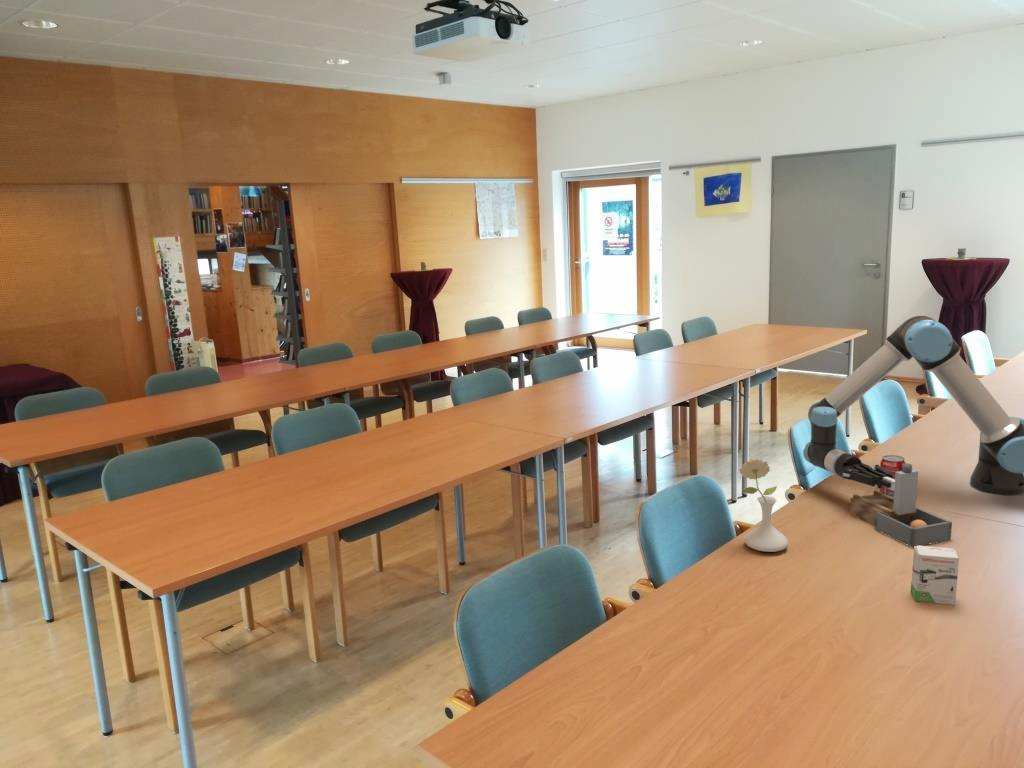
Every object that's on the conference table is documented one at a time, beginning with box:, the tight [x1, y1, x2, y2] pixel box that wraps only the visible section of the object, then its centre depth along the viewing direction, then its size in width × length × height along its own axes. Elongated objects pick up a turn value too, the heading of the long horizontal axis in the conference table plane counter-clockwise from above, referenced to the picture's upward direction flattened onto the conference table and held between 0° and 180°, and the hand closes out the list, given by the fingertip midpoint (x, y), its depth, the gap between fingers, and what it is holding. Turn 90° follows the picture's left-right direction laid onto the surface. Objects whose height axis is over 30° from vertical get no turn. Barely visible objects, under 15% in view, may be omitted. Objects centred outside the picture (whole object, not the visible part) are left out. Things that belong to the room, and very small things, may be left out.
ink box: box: [910, 545, 960, 606], centre depth 175 cm, size 9×5×12 cm, turn 72°
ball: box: [910, 520, 927, 528], centre depth 208 cm, size 4×4×4 cm
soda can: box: [878, 454, 906, 498], centre depth 237 cm, size 7×7×13 cm
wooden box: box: [849, 490, 918, 527], centre depth 220 cm, size 15×10×6 cm, turn 16°
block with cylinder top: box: [893, 462, 919, 515], centre depth 211 cm, size 2×6×14 cm, turn 106°
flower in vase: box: [738, 458, 789, 553], centre depth 205 cm, size 13×11×25 cm
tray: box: [874, 506, 953, 548], centre depth 210 cm, size 14×13×5 cm
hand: (902, 488), depth 212 cm, fingers closed
